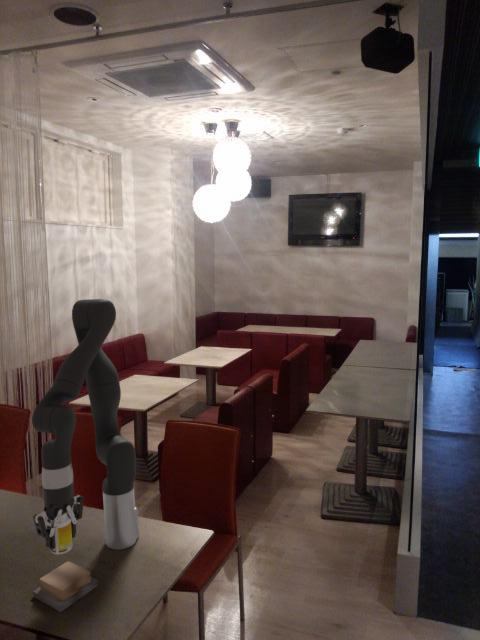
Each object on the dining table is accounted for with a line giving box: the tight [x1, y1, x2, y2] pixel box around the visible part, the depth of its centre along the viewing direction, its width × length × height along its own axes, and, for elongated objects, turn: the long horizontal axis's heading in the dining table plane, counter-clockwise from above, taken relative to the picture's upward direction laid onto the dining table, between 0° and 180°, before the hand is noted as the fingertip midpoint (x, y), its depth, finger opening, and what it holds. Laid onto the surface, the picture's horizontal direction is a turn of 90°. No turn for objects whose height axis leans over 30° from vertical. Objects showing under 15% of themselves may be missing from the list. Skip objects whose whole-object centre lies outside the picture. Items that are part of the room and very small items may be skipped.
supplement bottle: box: [49, 512, 73, 555], centre depth 133 cm, size 6×6×10 cm
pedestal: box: [32, 560, 99, 613], centre depth 134 cm, size 12×11×4 cm
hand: (61, 542), depth 133 cm, fingers closed on supplement bottle, 5 cm apart
